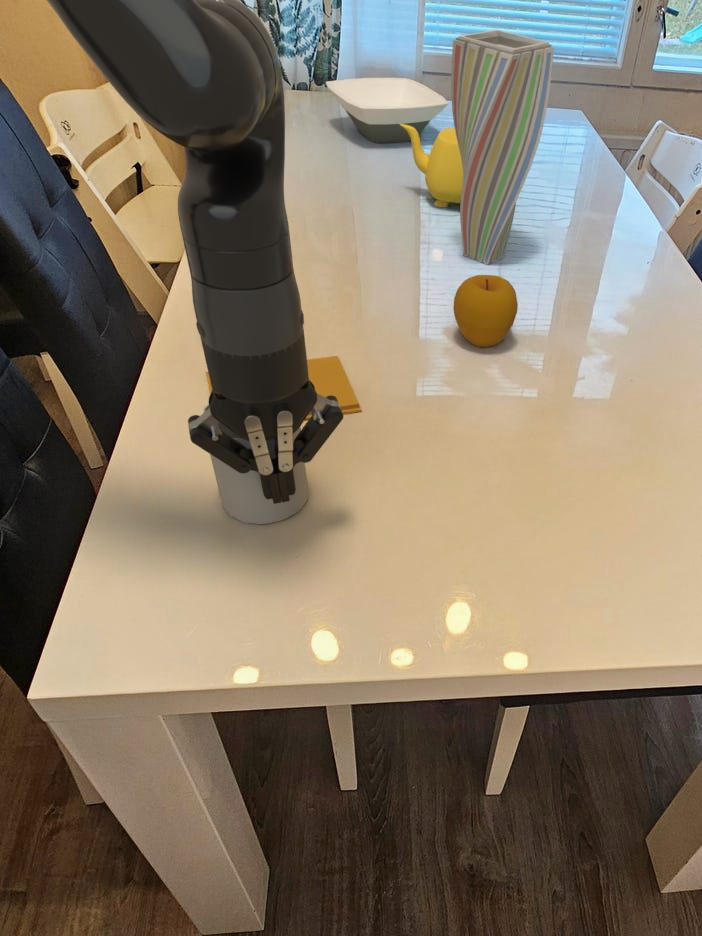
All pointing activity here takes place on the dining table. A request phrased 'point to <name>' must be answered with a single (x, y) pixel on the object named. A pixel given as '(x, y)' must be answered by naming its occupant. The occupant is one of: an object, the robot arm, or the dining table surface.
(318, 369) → the orange rectangular slab
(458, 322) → the apple
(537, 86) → the vase
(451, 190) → the teapot
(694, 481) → the dining table surface
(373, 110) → the bowl
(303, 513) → the dining table surface
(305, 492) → the cup
